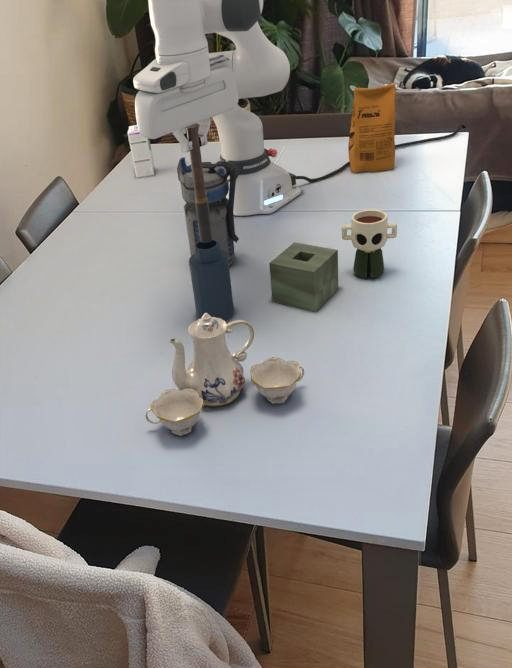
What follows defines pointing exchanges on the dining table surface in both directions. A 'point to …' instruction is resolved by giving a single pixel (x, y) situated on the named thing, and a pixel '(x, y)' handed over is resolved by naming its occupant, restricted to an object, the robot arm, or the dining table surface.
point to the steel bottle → (211, 281)
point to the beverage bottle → (211, 203)
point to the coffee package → (372, 129)
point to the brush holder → (304, 276)
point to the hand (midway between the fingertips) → (194, 148)
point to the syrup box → (141, 153)
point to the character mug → (369, 240)
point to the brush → (199, 186)
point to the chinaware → (217, 376)
